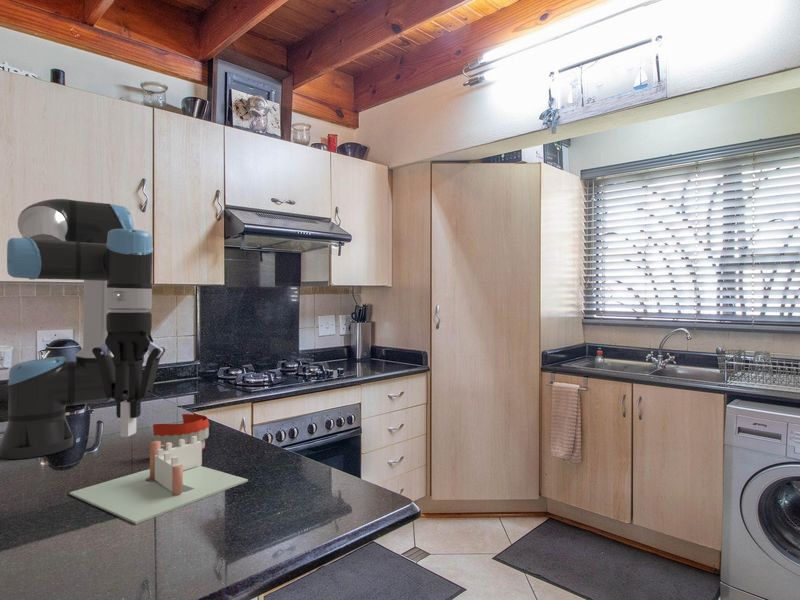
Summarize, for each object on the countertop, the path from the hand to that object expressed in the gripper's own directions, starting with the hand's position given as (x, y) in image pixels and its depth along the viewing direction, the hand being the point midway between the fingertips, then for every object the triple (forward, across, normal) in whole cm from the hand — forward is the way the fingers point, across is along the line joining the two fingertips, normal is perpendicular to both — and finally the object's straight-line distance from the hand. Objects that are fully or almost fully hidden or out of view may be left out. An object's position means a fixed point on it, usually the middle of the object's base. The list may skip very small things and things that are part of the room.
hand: (128, 434), depth 90 cm
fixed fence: (+12, +3, +13) cm, 18 cm away
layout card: (+12, +4, +5) cm, 14 cm away
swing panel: (+11, +6, +4) cm, 13 cm away
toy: (+13, -2, +29) cm, 32 cm away
